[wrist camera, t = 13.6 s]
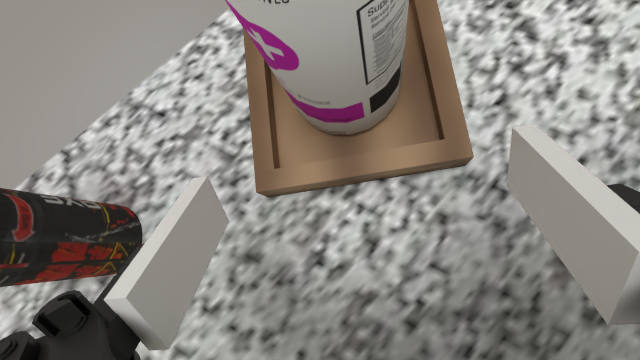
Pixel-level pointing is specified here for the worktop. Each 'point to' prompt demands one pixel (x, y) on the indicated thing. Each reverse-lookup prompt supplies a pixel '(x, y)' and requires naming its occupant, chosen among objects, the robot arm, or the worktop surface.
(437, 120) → the tray
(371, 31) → the supplement can
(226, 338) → the worktop surface
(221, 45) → the worktop surface
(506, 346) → the worktop surface
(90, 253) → the deodorant
